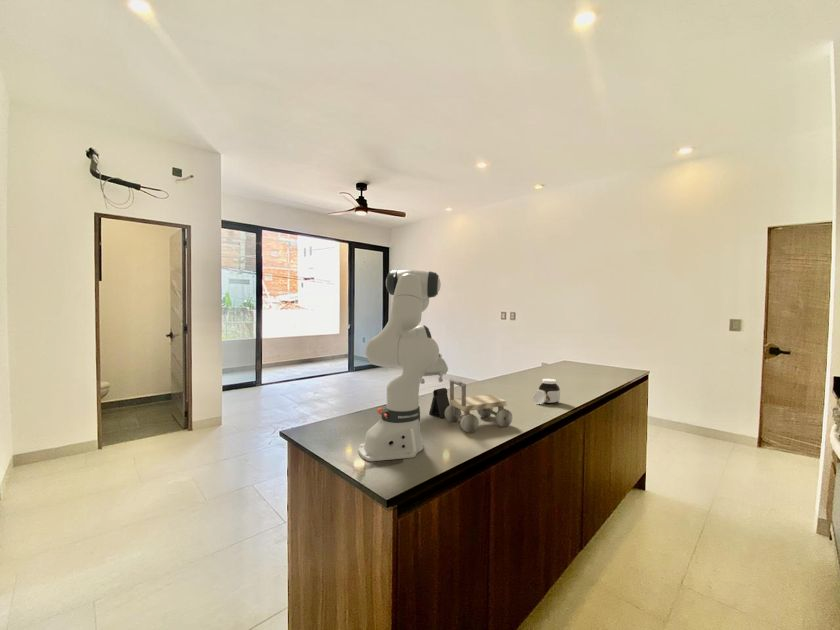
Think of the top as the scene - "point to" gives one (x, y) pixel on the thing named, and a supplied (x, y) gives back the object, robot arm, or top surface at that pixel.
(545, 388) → the spread jar
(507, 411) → the wheeled trolley
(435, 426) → the top surface
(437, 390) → the door stopper
